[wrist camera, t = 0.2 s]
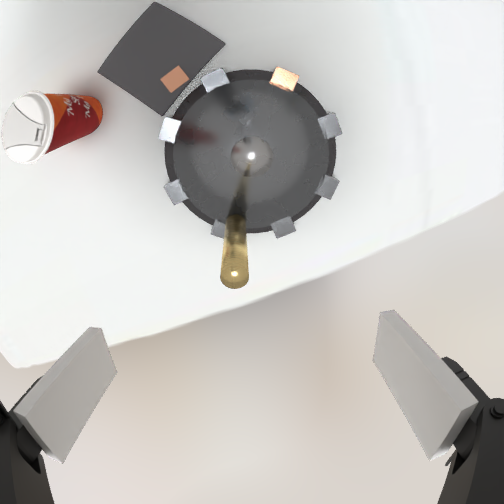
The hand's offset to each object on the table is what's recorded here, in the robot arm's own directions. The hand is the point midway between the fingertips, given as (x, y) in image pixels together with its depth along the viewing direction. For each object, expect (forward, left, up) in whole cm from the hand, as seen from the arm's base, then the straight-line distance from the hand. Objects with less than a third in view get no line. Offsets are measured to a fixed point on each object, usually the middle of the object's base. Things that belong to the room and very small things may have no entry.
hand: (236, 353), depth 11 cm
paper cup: (+5, -23, -27) cm, 36 cm away
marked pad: (-7, -19, -27) cm, 34 cm away
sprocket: (-4, -1, -27) cm, 27 cm away
